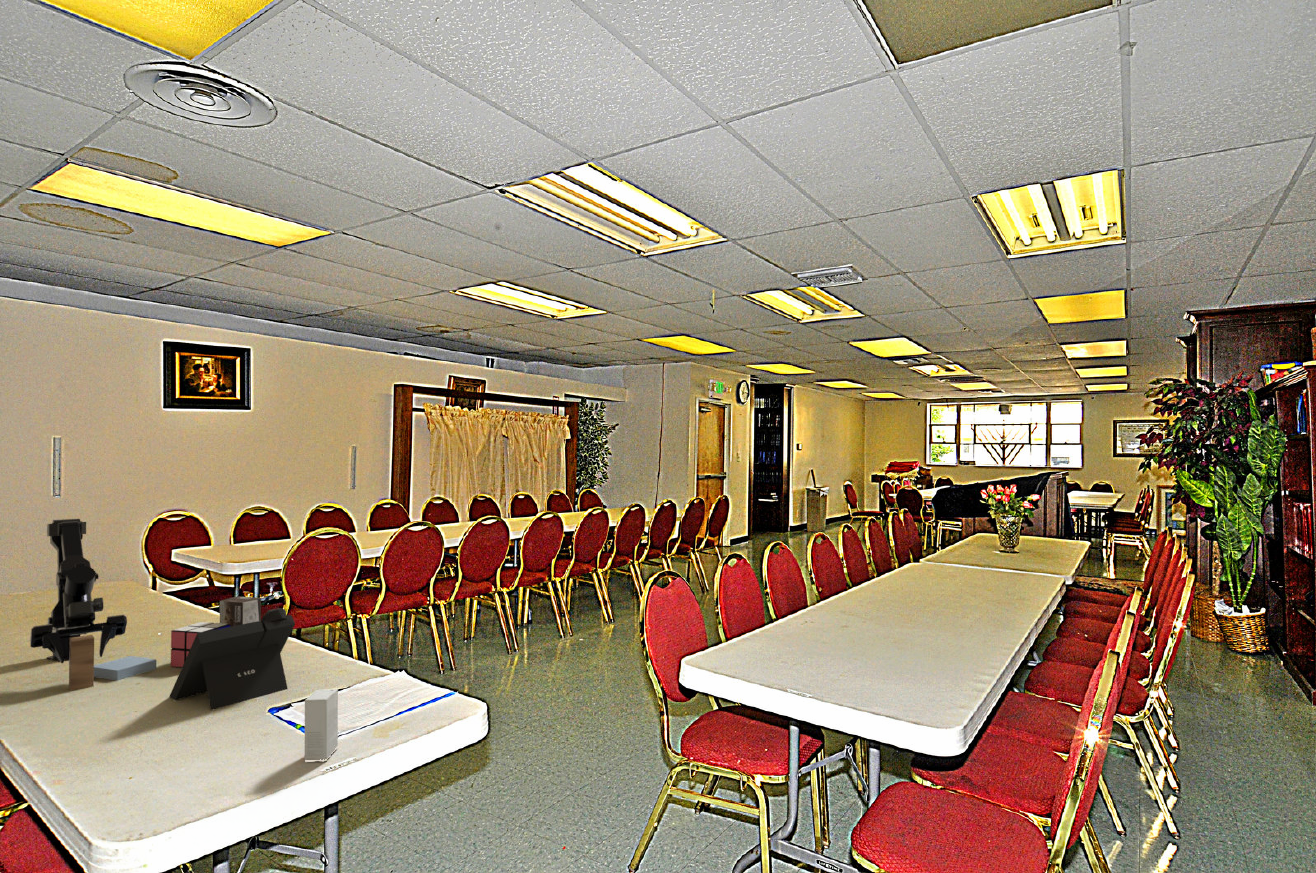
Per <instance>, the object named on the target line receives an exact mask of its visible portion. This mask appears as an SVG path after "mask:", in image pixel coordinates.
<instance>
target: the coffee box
mask: <svg viewBox="0 0 1316 873" xmlns="http://www.w3.org/2000/svg"><path fill="white" fill-rule="evenodd" d="M261 619H262V597H252V596H234V597H229V598H225V599H222V600H219V623H226V624H230V627H232V626H237V625H242V624H247V623H252V622H257V621H261Z"/></svg>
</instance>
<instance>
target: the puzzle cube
mask: <svg viewBox="0 0 1316 873" xmlns="http://www.w3.org/2000/svg"><path fill="white" fill-rule="evenodd" d="M227 627H230V624H226V623H220V622H207V621H199V622H196V623H192V624H189V625H185V626H181V627H177V628H175V629H172V630H171V631H170V636H171V637H170V648H171V649H170V667H171V668H181V669H182V667H183V664H184V662H185V660H186V658H187V655H188V653H189V651H190V648H191V646H192V644H193V642H194V639H195V637H196V635H197V633H201V632H206V631H211V630H217V629H222V628H227Z"/></svg>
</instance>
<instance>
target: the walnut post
mask: <svg viewBox="0 0 1316 873" xmlns="http://www.w3.org/2000/svg"><path fill="white" fill-rule="evenodd" d="M94 663H95V637H94V635H93V634H88V635H87V634H85V635H80V636H79V637H72V638H70V647H69V659H68V665H69V666H68V687H69V690H70V691H77V690H80V689H86V688H91V687H92V686H93V687H94V681H95V680H94V679H95V677H94V666H95V664H94Z"/></svg>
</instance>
